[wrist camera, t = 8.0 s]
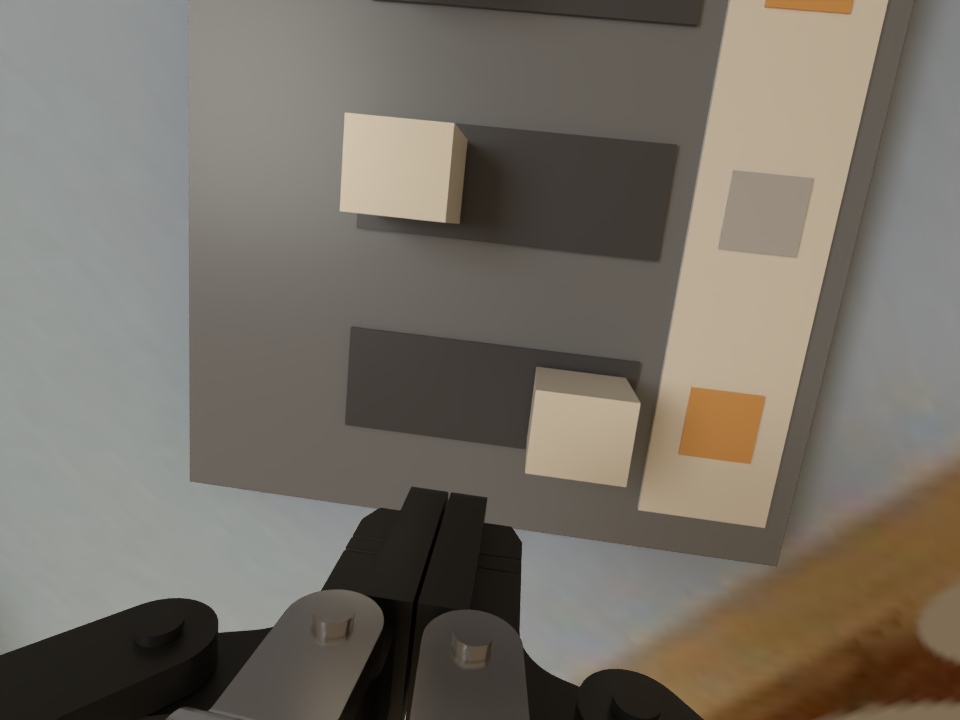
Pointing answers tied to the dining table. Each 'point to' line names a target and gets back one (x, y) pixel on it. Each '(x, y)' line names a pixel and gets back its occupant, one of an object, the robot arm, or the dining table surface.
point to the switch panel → (531, 249)
